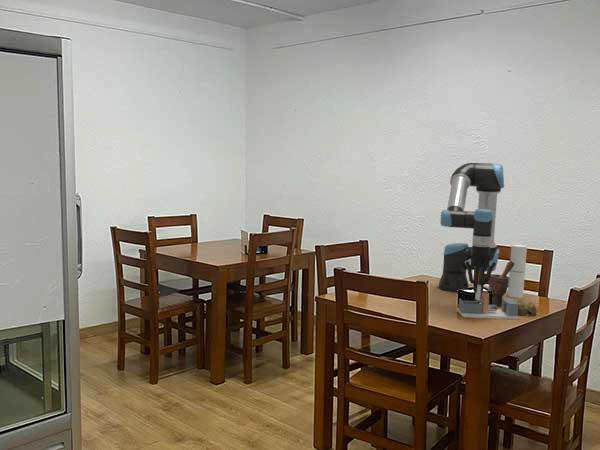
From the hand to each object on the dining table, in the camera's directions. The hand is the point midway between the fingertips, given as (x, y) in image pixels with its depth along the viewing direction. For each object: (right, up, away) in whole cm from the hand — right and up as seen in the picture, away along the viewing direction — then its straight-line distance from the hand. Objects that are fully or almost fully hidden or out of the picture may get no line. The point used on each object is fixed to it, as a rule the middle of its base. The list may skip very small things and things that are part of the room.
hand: (477, 299), depth 264 cm
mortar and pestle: (+16, -5, +22) cm, 28 cm away
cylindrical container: (+30, -3, +39) cm, 49 cm away
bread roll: (+22, -7, +6) cm, 23 cm away
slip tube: (+1, -5, +1) cm, 5 cm away
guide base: (+4, -7, +1) cm, 8 cm away
